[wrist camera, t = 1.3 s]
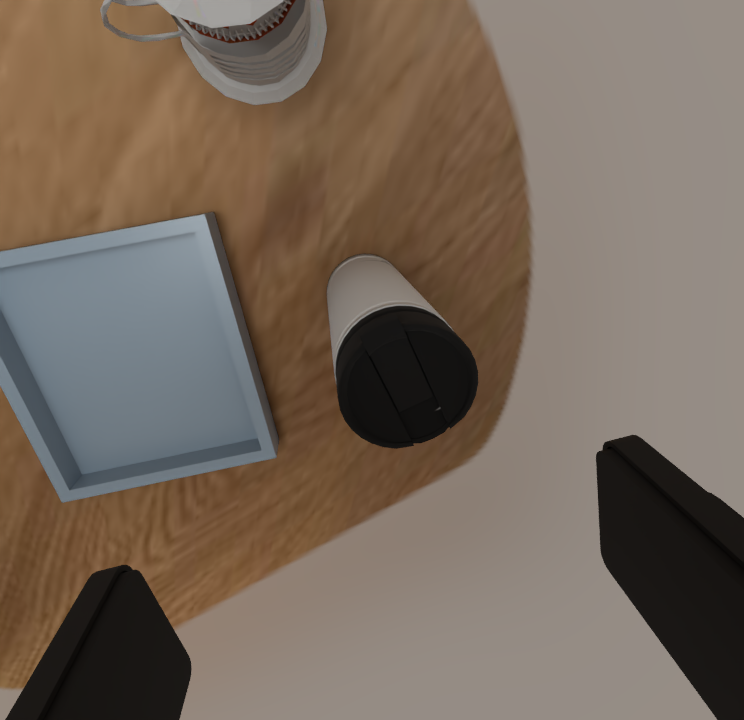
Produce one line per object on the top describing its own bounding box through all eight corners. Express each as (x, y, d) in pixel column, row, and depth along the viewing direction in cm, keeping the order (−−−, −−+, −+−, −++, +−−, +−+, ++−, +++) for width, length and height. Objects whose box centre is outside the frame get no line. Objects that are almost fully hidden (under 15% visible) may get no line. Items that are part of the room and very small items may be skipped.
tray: (279, 439, 41) (276, 457, 39) (79, 480, 41) (62, 502, 38) (213, 211, 34) (204, 214, 31) (-33, 257, 33) (-64, 263, 30)
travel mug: (381, 235, 36) (451, 290, 17) (413, 308, 38) (505, 423, 20) (311, 270, 36) (305, 360, 18) (347, 340, 39) (375, 483, 20)
